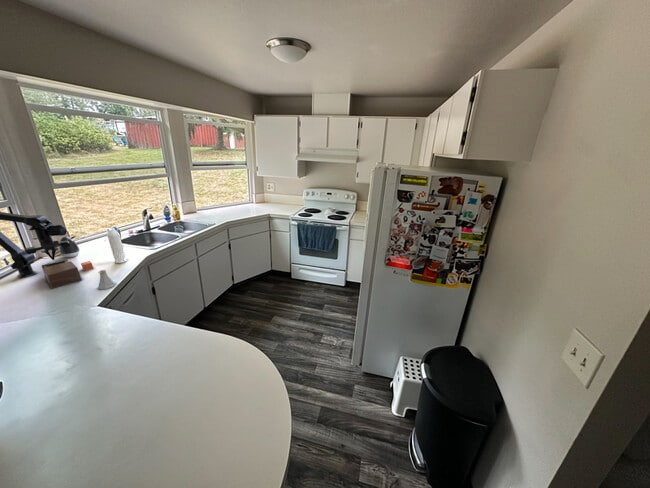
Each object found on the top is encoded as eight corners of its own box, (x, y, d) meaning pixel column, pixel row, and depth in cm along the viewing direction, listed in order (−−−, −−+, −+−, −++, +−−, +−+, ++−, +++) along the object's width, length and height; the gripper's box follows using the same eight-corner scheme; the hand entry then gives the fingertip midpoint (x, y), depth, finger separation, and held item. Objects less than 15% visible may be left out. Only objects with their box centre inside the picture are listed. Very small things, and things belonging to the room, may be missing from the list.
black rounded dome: (83, 255, 186) (77, 236, 181) (64, 260, 178) (57, 240, 173) (78, 252, 191) (72, 233, 186) (60, 256, 183) (52, 237, 178)
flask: (105, 290, 142) (100, 274, 139) (95, 288, 143) (90, 273, 140) (118, 284, 149) (113, 269, 145) (108, 282, 150) (103, 267, 147)
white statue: (116, 260, 179) (106, 227, 171) (127, 258, 183) (118, 226, 174) (113, 265, 172) (103, 230, 164) (125, 263, 176) (116, 229, 167)
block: (82, 269, 166) (80, 263, 164) (91, 267, 169) (89, 260, 167) (84, 271, 163) (82, 264, 162) (93, 268, 167) (91, 262, 165)
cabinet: (47, 280, 150) (41, 268, 147) (75, 273, 160) (70, 261, 157) (52, 288, 142) (47, 275, 140) (81, 280, 152) (77, 267, 149)
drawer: (43, 273, 157) (39, 263, 155) (68, 267, 166) (65, 257, 164) (49, 281, 148) (45, 271, 145) (75, 274, 156) (72, 265, 154)
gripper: (23, 243, 141) (33, 268, 146) (68, 235, 155) (76, 258, 160) (20, 239, 147) (30, 263, 152) (64, 231, 161) (72, 254, 166)
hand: (53, 259), depth 158 cm, fingers closed
